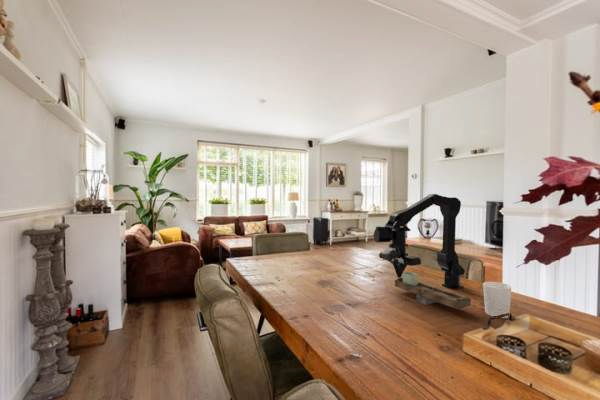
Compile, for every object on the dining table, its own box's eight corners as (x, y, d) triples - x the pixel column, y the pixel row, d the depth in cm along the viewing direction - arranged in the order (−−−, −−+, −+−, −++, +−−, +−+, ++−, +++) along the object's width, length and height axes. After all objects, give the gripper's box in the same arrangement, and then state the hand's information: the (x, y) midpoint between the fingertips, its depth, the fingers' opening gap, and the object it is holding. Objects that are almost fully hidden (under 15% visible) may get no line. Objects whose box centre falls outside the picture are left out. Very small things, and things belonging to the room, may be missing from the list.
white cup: (516, 320, 91) (516, 289, 91) (489, 318, 92) (489, 288, 92) (504, 310, 98) (503, 282, 98) (479, 308, 100) (479, 281, 100)
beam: (393, 292, 118) (393, 279, 118) (408, 289, 122) (408, 276, 122) (455, 317, 93) (455, 300, 93) (472, 312, 97) (472, 296, 97)
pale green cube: (402, 283, 117) (402, 272, 117) (409, 282, 119) (409, 271, 119) (411, 286, 113) (410, 275, 113) (418, 285, 115) (417, 274, 115)
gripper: (369, 240, 126) (370, 274, 126) (401, 246, 109) (402, 286, 109) (388, 238, 131) (388, 271, 131) (421, 243, 114) (422, 282, 114)
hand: (399, 277), depth 121 cm, fingers closed
